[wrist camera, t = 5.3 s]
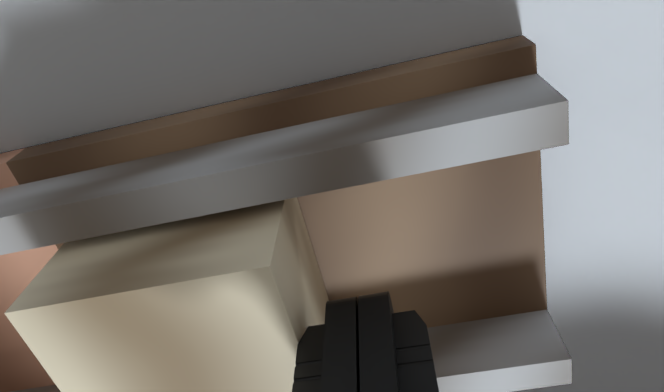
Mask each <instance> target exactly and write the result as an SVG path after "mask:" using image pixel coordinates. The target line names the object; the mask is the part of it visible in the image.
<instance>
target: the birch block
mask: <svg viewBox="0 0 664 392" xmlns="http://www.w3.org/2000/svg"><path fill="white" fill-rule="evenodd" d="M327 301H329V299H328V296H327V292H326V289H325V286H324V283H323V279H322V276H321V273H320V270H319V267H318V263H317V260H316V257H315V254H314V251H313V247H312V244H311V241H310V238H309V234H308V231H307V228H306V225H305V222H304V218H303V215H302V212H301V209H300V205H299V202H298V199H297V197H296V198H291V199H286V200H281V201H276V202H270V203H265V204H260V205H255V206H250V207H245V208H240V209H235V210H229V211H224V212H219V213H214V214H209V215H204V216H199V217H194V218H188V219H183V220H178V221H173V222H168V223H163V224H158V225H153V226H147V227H142V228H137V229H132V230H127V231H122V232H117V233H112V234H106V235H101V236H96V237H91V238H86V239H81V240H76V241H71V242H65V243H64V244H63V245H62V246H61V247H60V249H59V250H58V251H57V252H56V253H55V254H54V256H53V257H52V258H51V259H50V260H49V261H48V263H47V264H46V265H45V266H44V267H43V268H42V270H41V271H40V272H39V273H38V274H37V275H36V277H35V278H34V279H33V280H32V281H31V282H30V284H29V285H28V286H27V287H26V288H25V289H24V291H23V292H22V293H21V294H20V295H19V296H18V298H17V299H16V300H15V301H14V302H13V304H12V305H11V306H10V307H9V308H8V309H7V311H6V312H5V313H4V314H5V315H6V316H7V318H8V319H9V321H10V322H11V323H12V325H13V326H14V328H15V329H16V330H17V332H18V333H19V334H20V336H21V337H22V339H23V340H24V341H25V343H26V344H27V346H28V347H29V348H30V350H31V351H32V352H33V354H34V355H35V357H36V358H37V359H38V361H39V362H40V364H41V365H42V366H43V368H44V369H45V371H46V372H47V373H48V375H49V376H50V377H51V379H52V380H53V382H54V383H55V384H56V386H57V387H58V389H59V390H60V391H61V392H292V386H293V383H294V379H293V378H294V370H295V367H296V364H295V361H296V353H297V345H298V343H299V341H300V339H301V338H302V336H303V334H304V332H305V331H306V329H307V327H308V326H314V325H321V324H325V308H326V302H327Z"/></svg>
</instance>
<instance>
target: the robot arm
mask: <svg viewBox="0 0 664 392" xmlns="http://www.w3.org/2000/svg"><path fill="white" fill-rule="evenodd" d="M295 364H296V367H295V370H294V378H293V379H294V383H293V386H292V392H439V388H438V382H437V377H436V372H435V366H434V361H433V356H432V351H431V345H430V340H429V335H428V330H427V325H426V323H425V322H424V321H423V320H422V319H421V317H420V316H419V315H418V314H417V312H416V311H415V310H411V311H405V312H398V313H394V310H393V306H392V302H391V297H390V293H389V291H387V292H380V293H374V294H368V295H362V296H359V297H358V298H357V297H350V298H344V299H338V300H331V301H327V302H326V308H325V324H321V325H314V326H308V327H307V329H306V331H305V332H304V334H303V336H302V338H301V339H300V341H299V343H298V345H297V353H296V361H295Z"/></svg>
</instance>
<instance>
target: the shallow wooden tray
mask: <svg viewBox="0 0 664 392" xmlns="http://www.w3.org/2000/svg"><path fill="white" fill-rule="evenodd" d="M568 144H569V119H568V100H567V99H566V98H565V97H564V96H562V95H561V94H560V93H559V92H558V91H557V90H555V89H554V88H553V87H552V86H551V85H550V84H549V83H547V82H546V81H545V80H544V79H543V78H542V77H540V76H539V75H538V74H537V64H536V44H534V43H533V42H531V41H530V40H529V39H527V38H526V37H525V36H523V35H522V36H518V37H513V38H509V39H504V40H500V41H495V42H491V43H487V44H482V45H478V46H473V47H469V48H464V49H460V50H456V51H451V52H447V53H442V54H438V55H434V56H429V57H425V58H420V59H416V60H411V61H407V62H403V63H398V64H394V65H389V66H385V67H381V68H376V69H372V70H367V71H363V72H358V73H354V74H350V75H345V76H341V77H336V78H332V79H328V80H323V81H319V82H314V83H310V84H305V85H301V86H297V87H292V88H288V89H283V90H279V91H274V92H270V93H266V94H261V95H257V96H252V97H248V98H244V99H239V100H235V101H230V102H226V103H221V104H217V105H213V106H208V107H204V108H199V109H195V110H191V111H186V112H182V113H177V114H173V115H168V116H164V117H160V118H155V119H151V120H146V121H142V122H138V123H133V124H129V125H124V126H120V127H115V128H111V129H107V130H102V131H98V132H93V133H89V134H84V135H80V136H76V137H71V138H67V139H62V140H58V141H54V142H49V143H45V144H40V145H36V146H31V147H27V148H23V149H18V150H14V151H9V152H5V153H1V154H0V392H61V391H60V390H59V389H58V387H57V386H56V384H55V383H54V382H53V380H52V379H51V377H50V376H49V375H48V373H47V372H46V371H45V369H44V368H43V366H42V365H41V364H40V362H39V361H38V359H37V358H36V357H35V355H34V354H33V352H32V351H31V350H30V348H29V347H28V346H27V344H26V343H25V341H24V340H23V339H22V337H21V336H20V334H19V333H18V332H17V330H16V329H15V328H14V326H13V325H12V323H11V322H10V321H9V319H8V318H7V316H6V315H5V314H4V313H5V312H6V311H7V309H8V308H9V307H10V306H11V305H12V304H13V302H14V301H15V300H16V299H17V298H18V296H19V295H20V294H21V293H22V292H23V291H24V289H25V288H26V287H27V286H28V285H29V284H30V282H31V281H32V280H33V279H34V278H35V277H36V275H37V274H38V273H39V272H40V271H41V270H42V268H43V267H44V266H45V265H46V264H47V263H48V261H49V260H50V259H51V258H52V257H53V256H54V254H55V253H56V252H57V251H58V250H59V249H60V247H61V246H62V245H63V244H64V243H65V242H71V241H76V240H81V239H86V238H91V237H96V236H101V235H106V234H112V233H117V232H122V231H127V230H132V229H137V228H142V227H147V226H153V225H158V224H163V223H168V222H173V221H178V220H183V219H188V218H194V217H199V216H204V215H209V214H214V213H219V212H224V211H229V210H235V209H240V208H245V207H250V206H255V205H260V204H265V203H270V202H276V201H281V200H286V199H291V198H296V197H297V199H298V202H299V205H300V209H301V212H302V215H303V218H304V222H305V225H306V228H307V231H308V234H309V238H310V241H311V244H312V247H313V251H314V254H315V257H316V260H317V263H318V267H319V270H320V273H321V276H322V279H323V283H324V286H325V289H326V292H327V296H328V299H329V301H331V300H338V299H344V298H350V297H357V298H358V297H359V296H362V295H368V294H374V293H380V292H387V291H389V293H390V297H391V302H392V306H393V310H394V313H398V312H405V311H411V310H415V311H416V312H417V314H418V315H419V316H420V317H421V319H422V320H423V321H424V322H425V323H426V325H427V330H428V335H429V340H430V345H431V351H432V356H433V361H434V366H435V372H436V377H437V382H438V388H439V392H512V391H520V390H527V389H535V388H542V387H550V386H558V385H565V384H572V359H571V357H570V355H569V353H568V351H567V349H566V347H565V345H564V343H563V341H562V339H561V337H560V335H559V333H558V331H557V329H556V327H555V325H554V323H553V321H552V319H551V316H550V314H549V312H548V310H547V297H546V274H545V251H544V227H543V204H542V181H541V158H540V150H542V149H547V148H552V147H557V146H563V145H568Z"/></svg>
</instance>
